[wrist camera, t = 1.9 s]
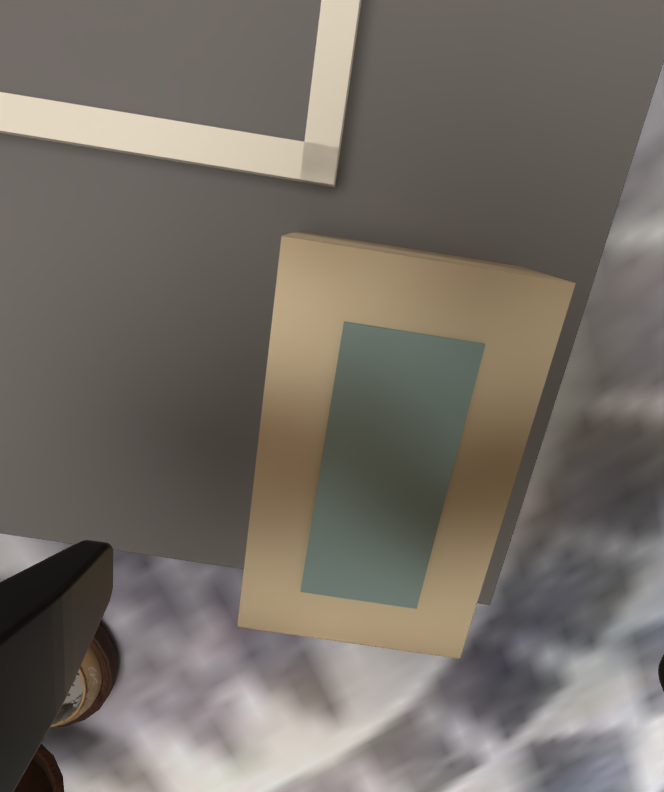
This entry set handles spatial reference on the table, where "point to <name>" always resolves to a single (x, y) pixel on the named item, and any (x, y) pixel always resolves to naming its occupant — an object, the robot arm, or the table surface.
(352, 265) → the slab
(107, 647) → the compass
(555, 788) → the table surface
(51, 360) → the mat
